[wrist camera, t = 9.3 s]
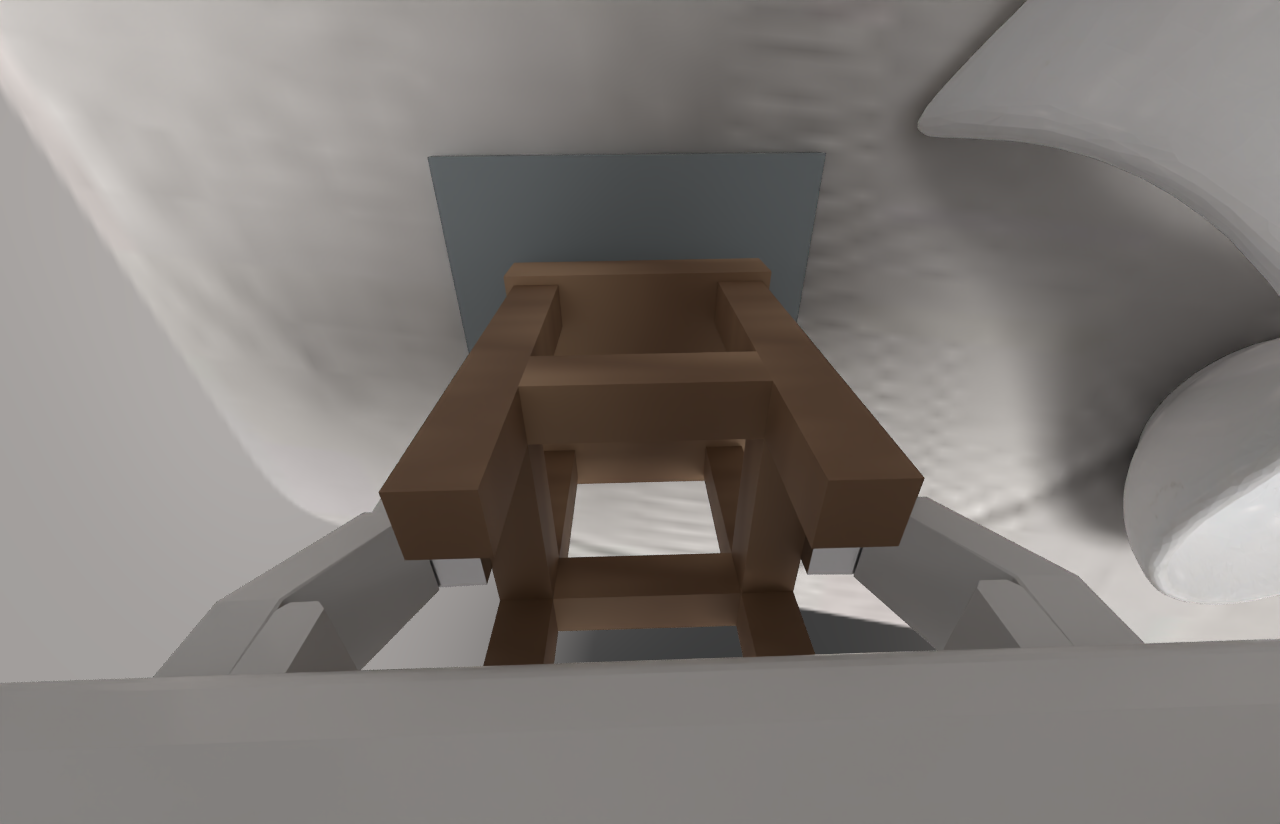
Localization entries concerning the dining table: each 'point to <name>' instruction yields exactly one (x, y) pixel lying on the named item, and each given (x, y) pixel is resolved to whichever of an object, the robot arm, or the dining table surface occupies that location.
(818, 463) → the stool
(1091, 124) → the spoon rest
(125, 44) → the dining table surface
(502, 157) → the felt mat
